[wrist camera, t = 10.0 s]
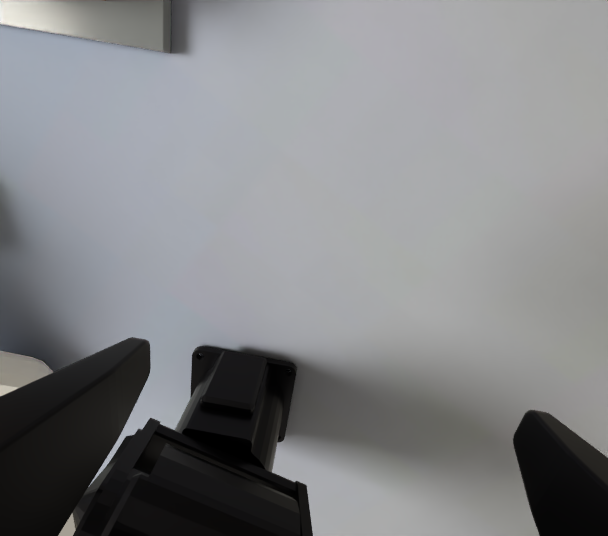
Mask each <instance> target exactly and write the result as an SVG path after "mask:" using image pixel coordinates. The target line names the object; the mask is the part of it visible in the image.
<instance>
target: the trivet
mask: <svg viewBox="0 0 608 536" xmlns="http://www.w3.org/2000/svg"><path fill="white" fill-rule="evenodd" d="M0 25H6V26H12V27H18V28H24V29H29V30H35V31H41V32H47V33H53V34H59V35H65V36H71V37H77V38H83V39H89V40H95V41H101V42H107V43H113V44H118V45H124V46H130V47H136V48H142V49H148V50H154V51H160V52H166V53H171V0H106V1H103V0H0Z"/></svg>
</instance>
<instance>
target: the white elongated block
mask: <svg viewBox="0 0 608 536" xmlns="http://www.w3.org/2000/svg"><path fill="white" fill-rule="evenodd" d="M51 373H53V371H52V370H51V369H50V368H49V367H48V366H47V365H46V364H45V363H44V362H43V361H41V360H38V359H36V358H33V357H29V356H24V355H19V354H14V353H9V352H4V351H0V396H2V395H5V394H7V393H9V392H11V391H13V390H16V389H18V388H20V387H22V386H24V385H27V384H29V383H31V382H33V381H35V380H38V379H40V378H42V377H44V376H47V375H49V374H51Z"/></svg>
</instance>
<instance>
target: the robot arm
mask: <svg viewBox="0 0 608 536" xmlns="http://www.w3.org/2000/svg"><path fill="white" fill-rule="evenodd" d="M199 353H201V354H203V355H204V356H200V355H199ZM286 369H289V370H291V372H287V371H286ZM296 371H297V367H296V366H295V364H293V363H291V362H286V361H281V360H275V359H270V358H264V357H259V356H253V355H248V354H242V353H236V352H231V351H225V350H220V349H214V348H209V347H203V346H199V347H197V348H196V349H195V350H194V352H193V355H192V376H191V399H190V401H189V403H188V405H187V407H186V409H185V411H184V413H183V415H182V417H181V419H180V421H179V423H178V425H177V427H176V429H175V430H173V429H170V428H168V427H166V426H163V425H161V424H160V422H159V421H157V420H155V419H152V418H150V419H149V421H148V422H147V424H146V425H145V427H144V428H143V430H141V429H138V430H137V432H136V433H135V435H131V436H126V437H125V439H124V440H123V442H122V444H121V445H120V447H119V448H118V450H117V451H116V453H115V455H114V456H113V458H112V459H111V461H110V462H109V463H108V465H107V466H106V467H105V469H104V470H103V471H102V472H101V473H100V474H99V476H98V477H97V478H96V479H95V480H94V481H93V483H92V484H91V485H90V483H91V482H92V480H93V478H94V477H95V475H96V474H97V472H98V470H99V469H100V467H101V466H102V464H103V462H104V461H105V459H106V458H107V456H108V454H109V453H110V451H111V449H112V448H113V446H114V445H115V443H116V441H117V439H118V438H119V436H120V434H121V432H122V430H123V428H124V426H125V424H126V422H127V420H128V418H129V416H130V414H131V412H132V410H133V408H134V406H135V404H136V402H137V399H138V397H139V395H140V393H141V391H142V389H143V387H144V385H145V383H146V381H147V379H148V376H149V373H150V343H149V341H147V340H145V339H139V338H133V337H132V338H128V339H126V340H124V341H122V342H119V343H117V344H115V345H113V346H111V347H108V348H106V349H104V350H102V351H100V352H97V353H95V354H93V355H91V356H88V357H86V358H84V359H82V360H80V361H77V362H75V363H73V364H71V365H69V366H66V367H64V368H62V369H60V370H58V371H55V372H53V373H51V374H49V375H47V376H44V377H42V378H40V379H38V380H35V381H33V382H31V383H29V384H27V385H24V386H22V387H20V388H18V389H16V390H13V391H11V392H9V393H7V394H5V395H2V396H0V536H58V535H59V533H60V531H61V530H62V528H63V527H64V525H65V523H66V522H67V520H68V519H69V517H70V515H71V514H72V513H73V517H74V523H75V528H76V531H75V533H74V535H73V536H313V533H312V525H311V517H310V510H309V502H308V494H307V486H306V485H305V484H303V483H300V482H298V481H296V482H293V481H291V480H288V479H286V478H284V477H281V476H279V475H277V474H274V473H272V469H273V463H274V458H275V452H276V447H277V442H282V441H283V440H284V437H285V432H286V426H287V421H288V415H289V410H290V404H291V399H292V394H293V388H294V383H295V377H296ZM513 444H514V449H515V452H516V456H517V460H518V464H519V468H520V471H521V475H522V479H523V483H524V487H525V490H526V494H527V498H528V502H529V505H530V509H531V512H532V515H533V518H534V521H535V524H536V527H537V529H538V532H539V535H540V536H608V458H607V457H606V456H605V455H603V454H602V453H601V452H599V451H598V450H597V449H595V448H594V447H593V446H591V445H590V444H589V443H587V442H586V441H585V440H583V439H582V438H581V437H579V436H578V435H577V434H576V433H574V432H573V431H572V430H570V429H569V428H568V427H566V426H565V425H564V424H562V423H561V422H560V421H558V420H557V419H556V418H554V417H553V416H552V415H550V414H549V413H546V412H541V411H536V410H529V411H527V412H526V413H525V415H524V417H523V419H522V421H521V422H520V424H519V426H518V428H517V430H516V432H515V434H514V438H513ZM89 485H90V486H89ZM88 486H89V487H88Z"/></svg>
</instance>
